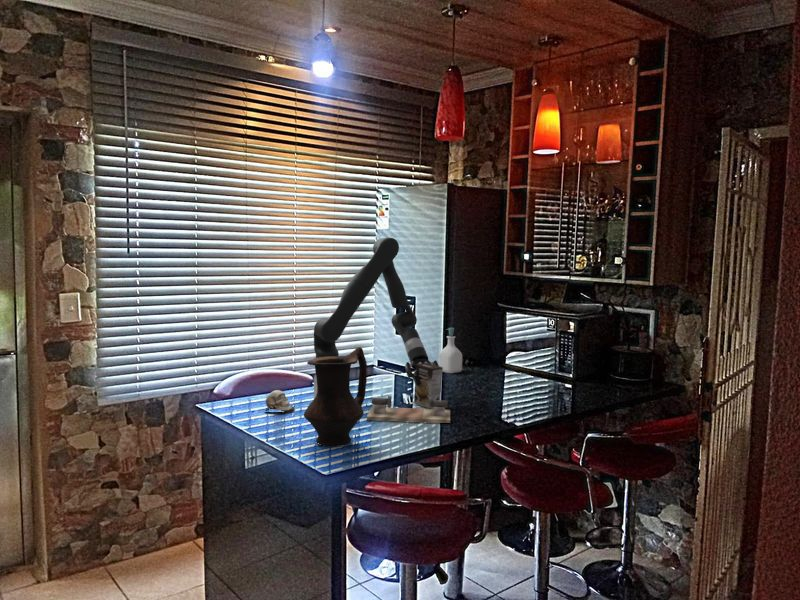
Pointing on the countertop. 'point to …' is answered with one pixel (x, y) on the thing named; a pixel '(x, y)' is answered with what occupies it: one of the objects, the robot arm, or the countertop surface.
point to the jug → (336, 398)
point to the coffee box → (428, 384)
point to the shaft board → (409, 412)
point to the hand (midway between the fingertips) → (428, 384)
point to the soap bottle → (450, 356)
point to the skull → (278, 401)
